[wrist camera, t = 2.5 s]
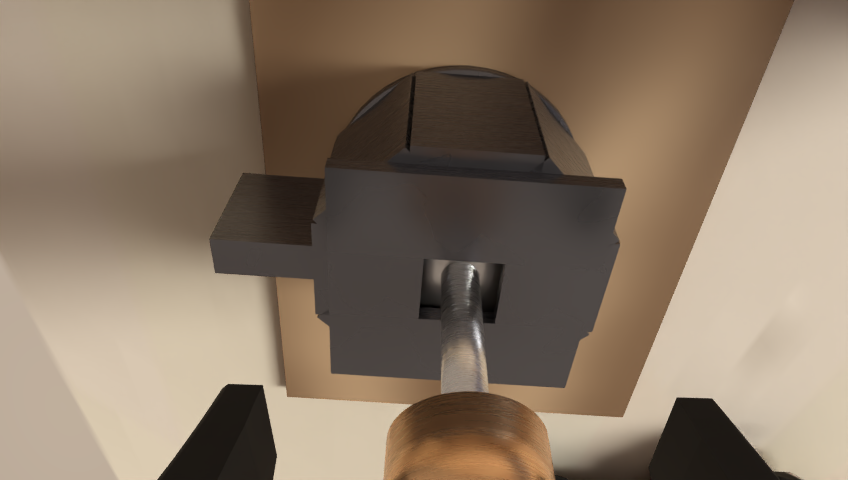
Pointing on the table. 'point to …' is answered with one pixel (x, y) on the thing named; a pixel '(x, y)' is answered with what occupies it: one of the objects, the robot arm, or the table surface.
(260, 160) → the table surface
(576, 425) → the table surface
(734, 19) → the walnut board
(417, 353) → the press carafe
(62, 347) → the table surface
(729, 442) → the robot arm
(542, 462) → the plunger
